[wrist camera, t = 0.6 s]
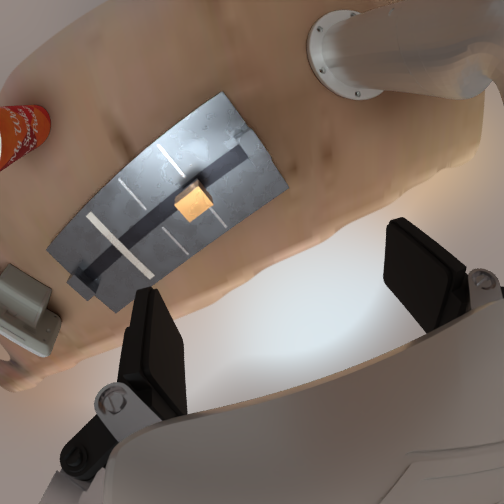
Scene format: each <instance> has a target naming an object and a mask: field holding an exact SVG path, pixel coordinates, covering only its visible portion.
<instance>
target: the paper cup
mask: <svg viewBox="0 0 504 504" xmlns="http://www.w3.org/2000/svg"><path fill="white" fill-rule="evenodd" d="M50 127H51V121H50V116H49V114H48V112H47V111H46V110H45V109H44V108H43V107H41V106H38V105H20V106H6V107H0V171H2V170H3V169H5V168H6V167H8V166H9V165H10V164H12V163H13V162H15V161H16V160H18V159H19V158H21V157H22V156H24V155H26V154H27V153H29V152H31V151H32V150H34V149H35V148H37V147H38V146H40V145H41V144H42V143H43V142H44V141H45V140H46V139H47V137H48V135H49V132H50Z"/></svg>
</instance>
